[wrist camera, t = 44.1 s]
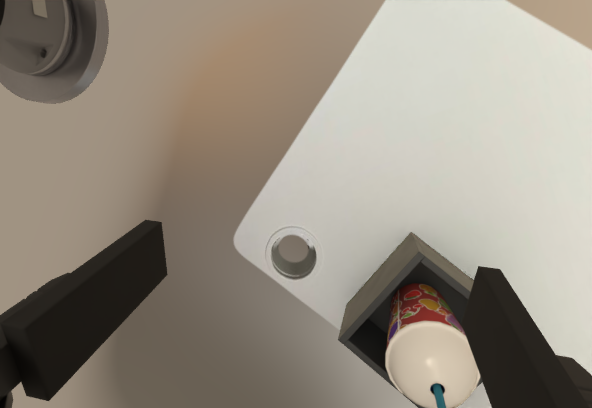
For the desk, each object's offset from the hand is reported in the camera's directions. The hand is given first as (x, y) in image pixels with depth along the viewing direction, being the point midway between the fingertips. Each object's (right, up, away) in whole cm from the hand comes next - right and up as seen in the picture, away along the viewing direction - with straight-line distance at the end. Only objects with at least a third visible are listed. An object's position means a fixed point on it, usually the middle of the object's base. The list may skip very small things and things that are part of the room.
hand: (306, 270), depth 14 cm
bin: (+16, -10, +31) cm, 37 cm away
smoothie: (+15, -10, +31) cm, 36 cm away
